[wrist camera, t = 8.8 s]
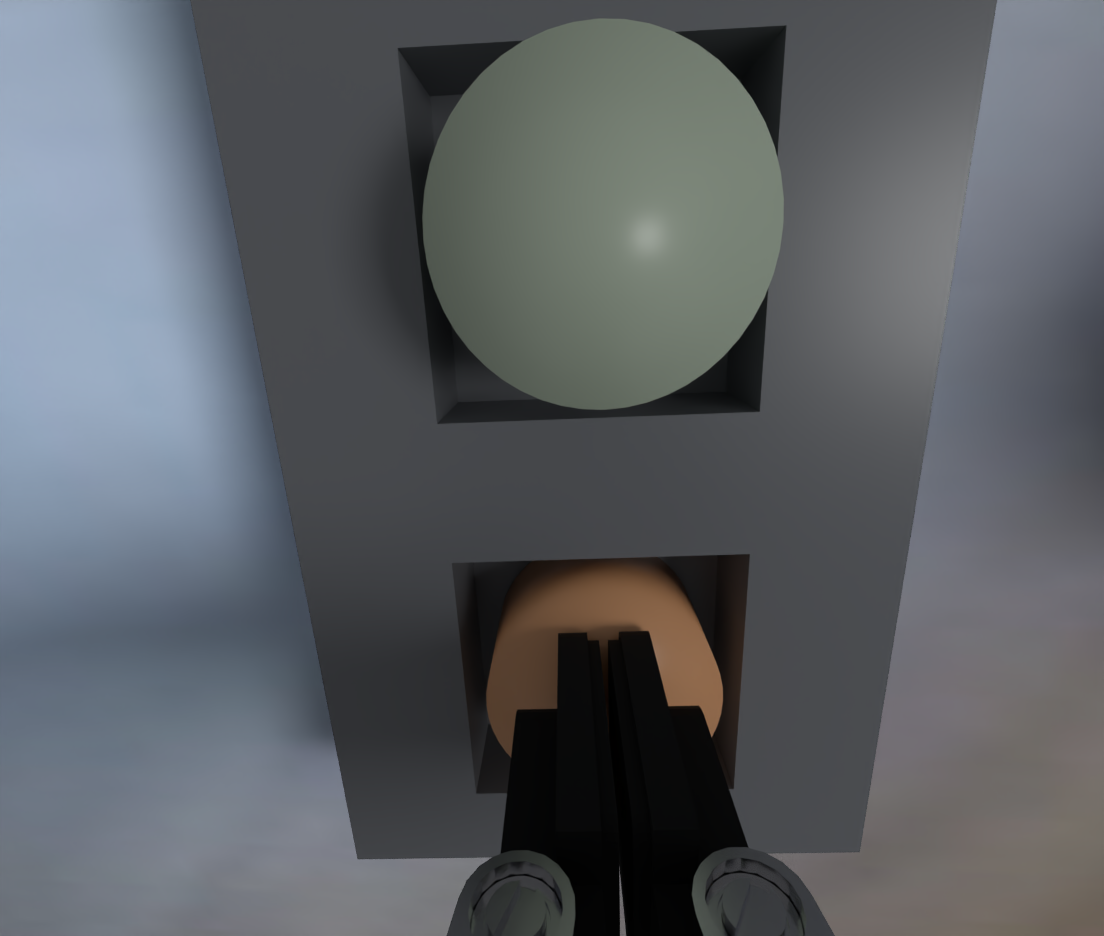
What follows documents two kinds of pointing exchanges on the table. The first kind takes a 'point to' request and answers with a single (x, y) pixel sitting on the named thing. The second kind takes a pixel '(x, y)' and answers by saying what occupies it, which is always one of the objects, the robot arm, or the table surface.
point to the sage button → (603, 214)
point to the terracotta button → (596, 634)
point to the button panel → (586, 434)
